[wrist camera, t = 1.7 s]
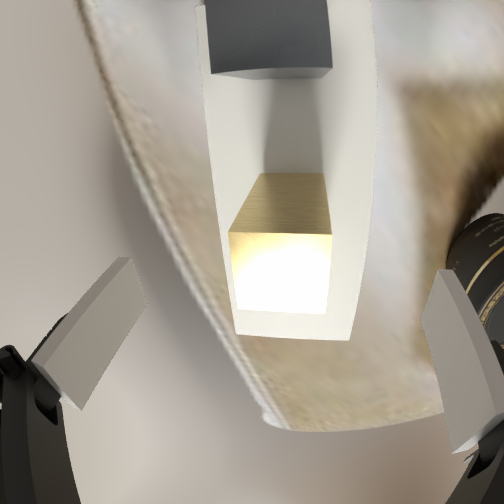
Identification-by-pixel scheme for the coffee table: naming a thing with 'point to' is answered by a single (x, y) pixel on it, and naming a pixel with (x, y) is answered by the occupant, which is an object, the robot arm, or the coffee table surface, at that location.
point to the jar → (482, 270)
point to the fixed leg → (269, 38)
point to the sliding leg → (282, 244)
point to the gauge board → (301, 159)
